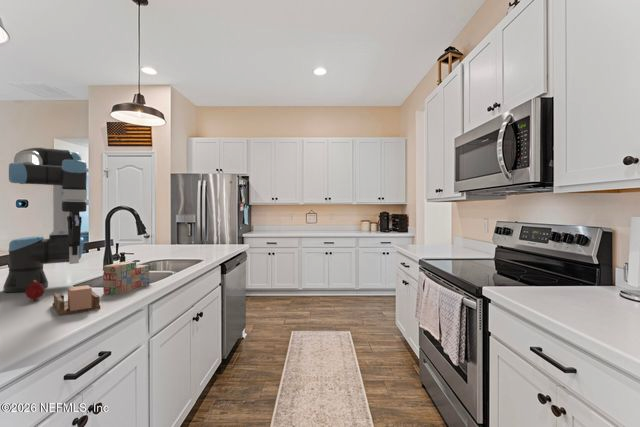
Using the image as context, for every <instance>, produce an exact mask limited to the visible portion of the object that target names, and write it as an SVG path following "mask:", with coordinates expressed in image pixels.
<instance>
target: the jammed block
mask: <svg viewBox="0 0 640 427" xmlns="http://www.w3.org/2000/svg"><path fill="white" fill-rule="evenodd" d="M92 291H93V290H92V287H91V286H89V285H80V286H73V287H67V301H68V308H69V310H70V311H75V310H81V309H87V308H92Z"/></svg>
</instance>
